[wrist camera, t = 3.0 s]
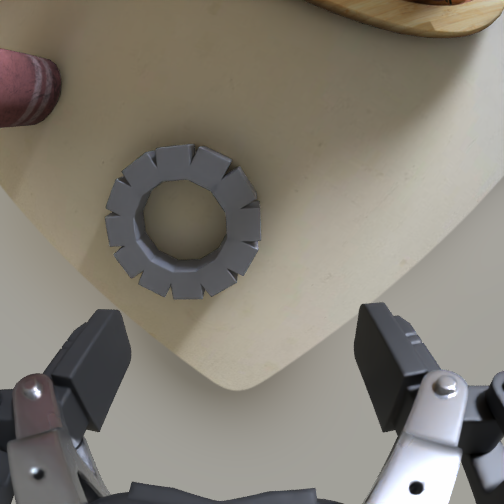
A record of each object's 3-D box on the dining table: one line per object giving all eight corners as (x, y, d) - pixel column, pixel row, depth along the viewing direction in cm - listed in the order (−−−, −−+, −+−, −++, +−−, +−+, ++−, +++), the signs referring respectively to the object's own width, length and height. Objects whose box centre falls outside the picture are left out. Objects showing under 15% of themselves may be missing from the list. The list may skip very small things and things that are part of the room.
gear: (129, 286, 27) (120, 299, 24) (109, 153, 22) (96, 156, 20) (261, 283, 26) (262, 297, 24) (257, 140, 22) (258, 140, 20)
